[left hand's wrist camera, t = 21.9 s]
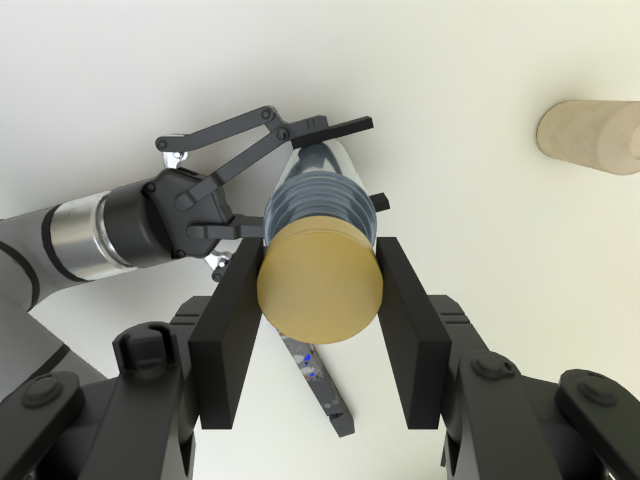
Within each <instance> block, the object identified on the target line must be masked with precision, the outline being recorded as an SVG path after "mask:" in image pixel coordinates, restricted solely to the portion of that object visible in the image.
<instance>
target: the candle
mask: <svg viewBox="0 0 640 480" xmlns="http://www.w3.org/2000/svg"><path fill="white" fill-rule="evenodd" d="M537 142H538V145H539V147H540V149H541V150H542V152H544V153H545V154H546V155H548V156H550V157H552V158H555V159H559V160H562V161H566V162H570V163H574V164H578V165H582V166H585V167H589V168H593V169H597V170H601V171H604V172H608V173H612V174H616V175H630V174H634V173H637V172H640V101H587V100H576V101H567V102H563V103H560V104H558V105H556V106H554V107H553V108H552V109H550V110H549V111H548V112H547V113H546V114H545V116H544V117H543V118H542V120H541V122H540V124H539V127H538V130H537Z"/></svg>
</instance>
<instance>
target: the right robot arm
mask: <svg viewBox="0 0 640 480" xmlns="http://www.w3.org/2000/svg"><path fill="white" fill-rule="evenodd" d="M263 124H265V125H266V127H267V128H268V129H269V131H270V132H271V133H270V134H268V135H267V136H265V137H264V138H262V139H261V140H259V141H258V142H257V143H255V144H254V145H252V146H251V147H249V148H248V149H247V150H245V151H244V152H242V153H241V154H239V155H238V156H236V157H235V158H234V159H232V160H231V161H229V162H228V163H226V164H225V165H224V166H222V167H221V168H219V169H218V170H216V171H215V172H213V173H212V174H211V175H209V176H208V177H207V176H204V175H202V174H199V173H196V172H193V171H191V170H188V169H185V168H182V167H180V164H181V162H182V161H183V160H186V159H188V158H189V157H190V156H191V151H192V150H196V149H198V148H201V147H204V146H206V145H209V144H212V143H214V142H217V141H220V140H222V139H225V138H228V137H231V136H233V135H236V134H239V133H241V132H244V131H247V130H249V129H252V128H255V127H257V126H260V125H263ZM370 128H374V127H373V122H372V118H371V117H368V116H366V117H362V118H359V119H355V120H351V121H348V122H344V123H341V124H337V125H334V126H330V127H328V123H327V119H326V116H323V115H318V116H314V117H311V118H307V119H304V120H300V121H297V122H293V123H287V122H285V121H283V120H282V118H281V117H280V115H279V114H278V113H277V110H276V109H275V108H274V107H273V106H264V107H261V108H258V109H256V110H253V111H250V112H248V113H245V114H242V115H240V116H237V117H235V118H232V119H229V120H227V121H224V122H221V123H219V124H216V125H213V126H211V127H208V128H205V129H203V130H200V131H198V132H195V133H192V134H170V135H166V136H162V137H159V138H157V140H156V142H155V145H156V147H157V149H158V150H159V151H161V152H162V153H163V159H164V166H165V169H164V170H162V171H161V172H160V173H159V174H158V175H157V176H156V177H154V178H150V179H147V180H143V181H140V182H136V183H133V184H129V185H126V186H122V187H118V188H115V189H114V190H112V191H104V192H101V193H97V194H94V195H90V196H86V197H83V198H79V199H76V200H72V201H69V202H65V203H63V204H60V205H57V206H54V207H51V208H47V209H43V210H39V211H35V212H31V213H27V214H23V215H19V216H16V217H12V218H8V219H5V220H3V219H0V404H1V403H2V402H3V401H4V400H5V399H6V398H7V397H8V396H9V395H10V394H11V393H12V392H14V391H15V390H16V389H17V388H19V387H20V386H21V385H23V384H24V383H26V382H28V381H30V380H32V379H34V378H36V377H38V376H41V375H43V374H47V373H50V372H56V371H70V372H74V373H75V374H76V375H78V376H79V378H80V381H81V384H82V385H86V384H90V383H95V382H99V381H104V380H108V379H107V378H106V377H105V376H104V375H102V374H101V373H100V372H99V371H97V370H96V369H95V368H93V367H92V366H91V365H90V364H88V363H87V362H86V361H84V360H83V359H82V358H81V357H79V356H78V355H77V354H75V353H74V352H73V351H72V350H71V349H70V348H69V347H68V346H67V345H65V344H64V342H62V341H61V340H60V339H59V338H57V337H56V336H55V335H54V334H53V333H51V332H50V331H49V330H48V329H47V328H45V327H44V326H43V325H42V324H40V323H39V322H38V321H37V320H36V319H34V318H33V317H32V316H31V315H30V314H28V313H27V312H29V311H30V310H31V309H32V308H33V307H34V306H35V305H37V304H38V303H40V302H41V301H42V300H44V299H45V298H46V297H48V296H49V295H51V294H52V293H54V292H56V291H58V290H61V289H64V288H68V287H71V286H75V285H79V284H83V283H87V282H90V281H95V280H98V279H102V278H106V277H110V276H115V275H119V274H123V273H127V272H131V271H135V270H137V269H138V268H146V267H150V266H154V265H158V264H162V263H166V262H170V261H174V260H178V259H181V258H184V257H194V258H203V259H204V260H205V261H206V263H207V264H208V265H209V266H210V268H211V269H212V270H213V271H214V272H213V273H212V279H213V280H214V281H215V282H220V280H221V278H222V277H223V275H224V273H225V271H226V269H227V267H228V265H229V264H230V262H231V260H232V258H233V256H234V254H235V253H233V254H231V253H230V252H228V251H227V252H217V251H215V250H214V248H215V247H216V246H217V244H218V243H219V242H220V241H221V239H238V238H244V237H263V239H265V238H264V231H263V219H264V217H251V216H244V215H242V214H232V211H231V208H230V207H229V206H228V204H227V203H226V201H225V192H224V190H223V187H222V185H223V184H225V183H226V182H227V181H229V180H230V179H232V178H233V177H235V176H236V175H238V174H239V173H241V172H242V171H243V170H245V169H246V168H248V167H249V166H251V165H252V164H254V163H255V162H257V161H258V160H260V159H261V158H263V157H264V156H265V155H267V154H268V153H270V152H271V151H273V150H274V149H276V148H277V147H279V146H280V145H282V144H283V143H285V142H286V141H290V140H291V142H292V146H293V149H294V150H295V149H298V148H302V147H305V146H309V145H313V144H316V143H320V142H323V141H327V140H331V139H334V138H338V137H341V136H345V135H349V134H352V133H356V132H359V131H363V130H367V129H370ZM369 197H370V199H371V202H372V204H373V206H374V209H375V212H379V211H383V210H387V209H390V205H389V201H388V199H387V197H386V196H385V194H384V193H379V194H375V195H372V196H369ZM266 250H267V246H264V256H265V253H266ZM31 476H32V475H31V474H30V475H29V477H28V478H27V479H26V480H29V478H30V477H31Z"/></svg>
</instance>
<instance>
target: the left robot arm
mask: <svg viewBox="0 0 640 480" xmlns="http://www.w3.org/2000/svg"><path fill="white" fill-rule="evenodd" d="M263 259H264V246H263V237H244V238H243V240H242V241H241V243H240V245H239V247H238V249H237V251H236V253H235V254H234V256H233V258H232V260H231V262H230V264H229V265H228V267H227V269H226V271H225V273H224V275H223V277H222V278H221V280H220V282H219V284H218V286H217V288H216V290H215V291H214V293H213V295H212V296H193V297H192V298H190V299H189V300H188V301H186V302H185V303H183V304H182V305H181V307H180V308H179V310H178V311H177V313H176V314H175V317H173V319H172V320H171V322H170V324H169V323H165V322H147V323H142V324H138V325H136V326H133V327H131V328H129V329H127V330H125V331H124V332H122V333H121V334H119V335H118V336H117V337H116V338H115V340H114V341H113V342H112V345H113V349H114V352H115V356H116V360H117V364H118V368H119V372H120V374H119V376H118V377H115V378H112V379H108V380H104V381H99V382H95V383H90V384H86V385H82V384H81V381H80V378H79V376H78V375H76V374H75V373H74V372H70V371H56V372H50V373H47V374H43V375H41V376H38V377H36V378H34V379H32V380H30V381H28V382H26V383H24V384H23V385H21V386H20V387H19V388H17V389H16V390H15V391H14V392H12V393H11V394H10V395H9V396H8V397H7V398H6V399H5V400H4V401H3V402H2V403H1V404H0V480H26V479H27V478H28V477H29V475H30V474H31V475H32V476H31V477H30V478H29V480H192V477H193V467H194V457H195V447H196V443H195V436H194V431H193V429H194V427H195V424H196V421H197V419H198V416H199V415H200V421H201V427H202V429H232V426H233V422H234V418H235V414H236V411H237V407H238V403H239V399H240V396H241V392H242V388H243V384H244V380H245V377H246V373H247V369H248V365H249V362H250V358H251V354H252V350H253V347H254V343H255V339H256V335H257V331H258V328H259V324H260V320H261V316H262V313H263V312H262V310H261V308H260V306H259V303H258V296H257V277H258V273H259V270H260V267H261V264H262V261H263ZM376 259H377V262H378V265H379V267H380V270H381V273H382V277H383V293H382V303H381V306H380V308H379V310H378V312H377V313H378V317H379V321H380V325H381V329H382V332H383V336H384V340H385V344H386V347H387V351H388V355H389V359H390V363H391V366H392V370H393V374H394V378H395V381H396V385H397V389H398V393H399V396H400V400H401V404H402V408H403V412H404V415H405V419H406V423H407V427H408V429H438V425H439V419H440V413H441V415H442V418H443V420H444V423H445V426H446V428H447V431H446V436H445V442H444V447H443V453H442V459H441V465H440V466H443V467H445V465H446V466H447V476H448V480H613V479H612V478H611V477H610V475H609V472H610V473H611V474H612V476H613V477H614V478H615V479H616V480H640V402H639V401H638V400H637V399H636V398H635V397H634V396H633V395H632V394H631V393H630V392H629V391H628V390H626V389H625V388H624V387H622V386H621V385H620V384H618V383H617V382H616V381H614V380H612V379H610V378H608V377H606V376H604V375H601V374H599V373H595V372H592V371H589V370H581V369H573V370H567V371H565V372H564V373H563V374H562V375H561V377H560V380H559V383H558V384H557V383H552V382H548V381H543V380H538V379H534V378H530V377H527V376H523V375H521V373H520V371H519V370H518V368H517V367H516V365H515V364H514V363H512V362H511V361H510V360H509V359H507V358H506V357H504V356H502V355H500V354H498V353H495V352H492V351H489V349H488V348H487V346H486V345H485V343H484V342H483V340H482V339H481V337H480V336H479V334H478V333H477V331H476V330H475V328H474V327H473V325H472V324H470V321H469V319H468V318H467V316H466V315H465V313H464V312H463V310H462V309H461V307H460V306H459V304H458V303H457V302H455V301H454V300H452V299H451V298H450V297H448V296H447V295H427V294H426V292H425V290H424V288H423V286H422V284H421V283H420V281H419V279H418V277H417V275H416V273H415V272H414V270H413V268H412V266H411V264H410V262H409V260H408V259H407V257H406V255H405V253H404V251H403V249H402V247H401V246H400V244H399V242H398V240H397V238H396V237H377V242H376Z"/></svg>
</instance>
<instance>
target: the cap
mask: <svg viewBox="0 0 640 480" xmlns="http://www.w3.org/2000/svg"><path fill="white" fill-rule="evenodd" d="M382 293H383V277H382V273H381V270H380V267H379V265H378V262H377V259H376V256H375V253H374V250H373V248H372V246H371V244H370V242H369V241H368V239H367V238H366V236H365V235H364V234H363V233H362V232H361V231H360V230H359V229H357V228H356V227H355V226H353V225H351V224H350V223H348V222H346V221H344V220H341V219H338V218H335V217H329V216H310V217H306V218H302V219H299V220H296V221H294V222H292V223H290V224H288V225H287V226H285V227H284V228H283V229H281V230H280V231H279V232H278V233H277V234H276V235H275V237H274V238H273V239H272V241H271V242H270V244H269V246H268V248H267V250H266V253H265V256H264V259H263V261H262V264H261V267H260V270H259V273H258V277H257V296H258V303H259V306H260V308H261V310H262V312H263V314H264V316H265V317H266V318H267V320H268V321H269V322H270V323H271V324H272V326H274V327H275V328H276V329H277V330H278V331H280V332H281V333H283V334H284V335H286V336H288V337H290V338H292V339H295V340H297V341H301V342H305V343H311V344H330V343H335V342H339V341H343V340H346V339H348V338H350V337H352V336H354V335H356V334H357V333H359V332H360V331H362V330H363V329H364V328H365V327H366V326H367V325H368V324H370V322H371V321H372V320H373V319H374V317H375V316H376V314H377V312H378V310H379V308H380V306H381V303H382Z"/></svg>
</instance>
